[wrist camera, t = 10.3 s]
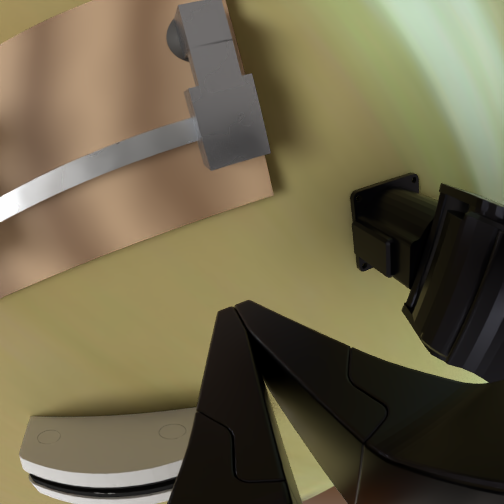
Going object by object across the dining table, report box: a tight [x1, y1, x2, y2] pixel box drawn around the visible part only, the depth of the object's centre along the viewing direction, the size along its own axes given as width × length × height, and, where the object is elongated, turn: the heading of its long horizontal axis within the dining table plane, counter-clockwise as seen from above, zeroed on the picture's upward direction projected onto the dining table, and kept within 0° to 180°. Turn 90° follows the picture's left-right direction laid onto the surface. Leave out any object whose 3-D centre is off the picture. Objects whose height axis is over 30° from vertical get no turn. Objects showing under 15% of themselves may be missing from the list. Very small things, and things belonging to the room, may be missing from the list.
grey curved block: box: [19, 407, 197, 504], centre depth 20 cm, size 17×5×10 cm, turn 87°
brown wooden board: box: [0, 0, 274, 298], centre depth 14 cm, size 22×14×1 cm, turn 103°
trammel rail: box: [0, 0, 271, 222], centre depth 13 cm, size 20×8×3 cm, turn 103°
